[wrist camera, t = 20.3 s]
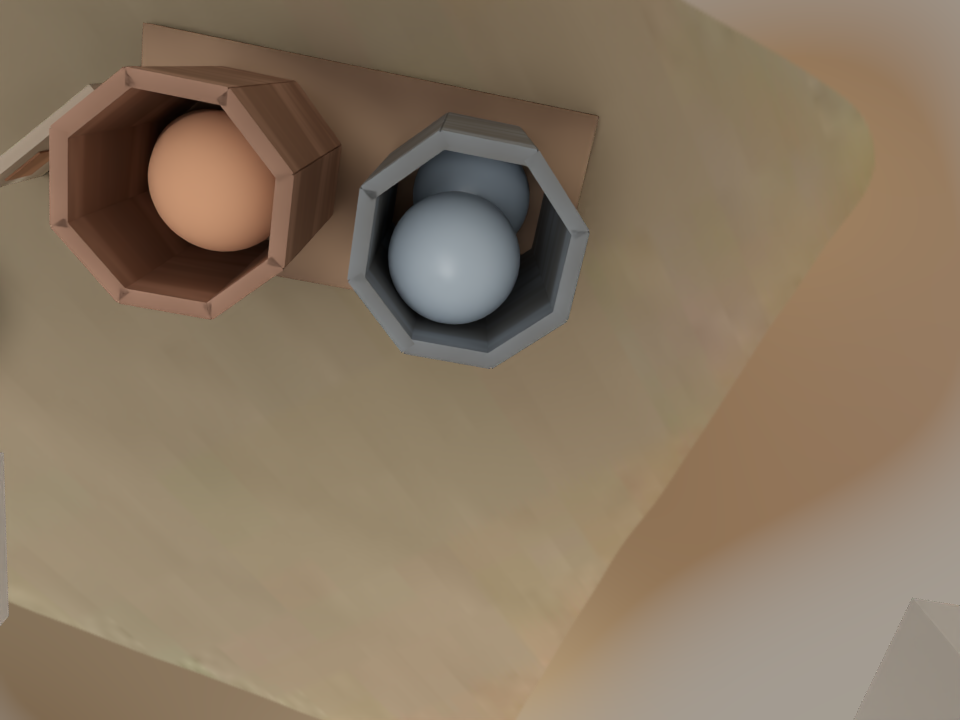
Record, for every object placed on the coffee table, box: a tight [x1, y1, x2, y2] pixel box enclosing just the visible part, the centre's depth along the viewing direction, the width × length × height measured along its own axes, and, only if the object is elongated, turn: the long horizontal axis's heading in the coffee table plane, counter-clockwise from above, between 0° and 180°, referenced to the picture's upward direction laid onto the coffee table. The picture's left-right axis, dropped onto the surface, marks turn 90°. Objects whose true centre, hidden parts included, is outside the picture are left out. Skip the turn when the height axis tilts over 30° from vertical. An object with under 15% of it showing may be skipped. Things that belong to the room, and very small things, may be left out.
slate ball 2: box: [388, 191, 520, 325], centre depth 35 cm, size 6×6×6 cm
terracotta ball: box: [148, 111, 276, 252], centre depth 34 cm, size 6×6×6 cm
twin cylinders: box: [0, 23, 599, 369], centre depth 37 cm, size 12×30×13 cm, turn 79°
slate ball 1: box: [413, 150, 529, 234], centre depth 39 cm, size 6×6×6 cm
